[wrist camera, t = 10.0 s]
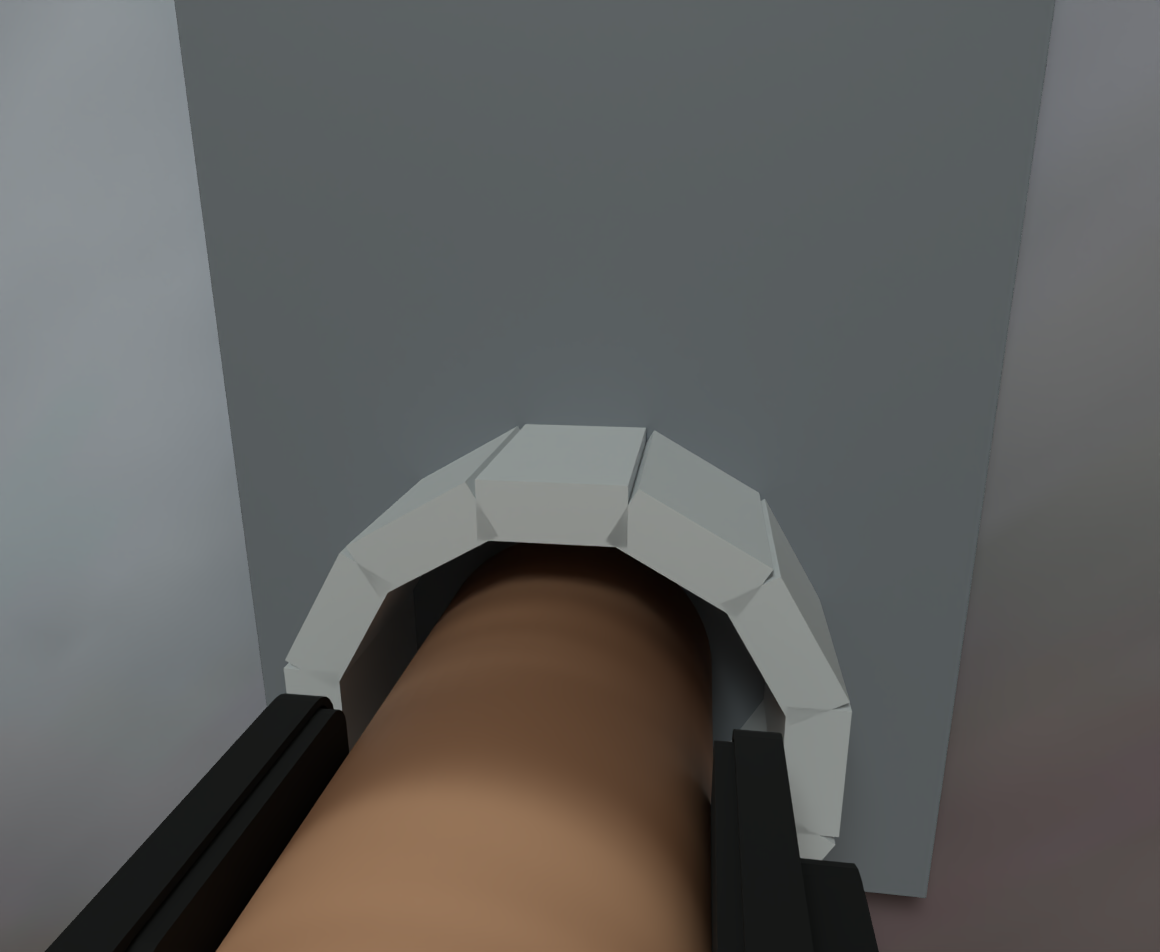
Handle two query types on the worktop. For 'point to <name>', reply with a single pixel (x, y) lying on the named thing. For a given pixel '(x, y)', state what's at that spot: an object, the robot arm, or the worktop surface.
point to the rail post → (519, 779)
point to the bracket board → (629, 339)
